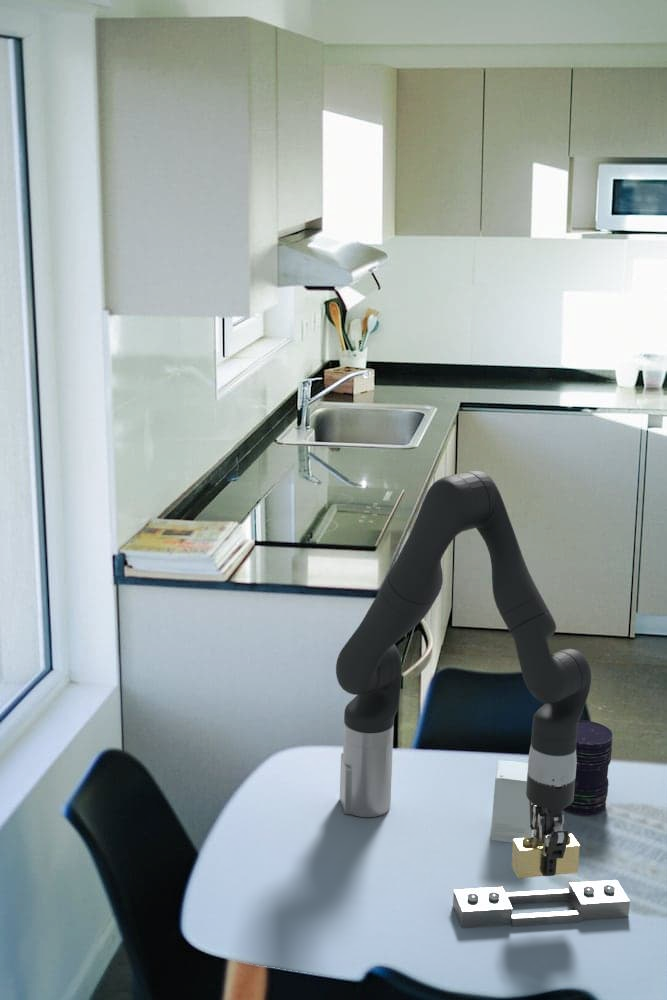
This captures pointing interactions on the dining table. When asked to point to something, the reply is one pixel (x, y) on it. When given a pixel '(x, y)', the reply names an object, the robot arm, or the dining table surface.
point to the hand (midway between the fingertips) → (544, 867)
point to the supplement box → (510, 802)
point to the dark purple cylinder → (591, 769)
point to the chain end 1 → (493, 907)
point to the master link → (530, 857)
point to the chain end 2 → (587, 901)
